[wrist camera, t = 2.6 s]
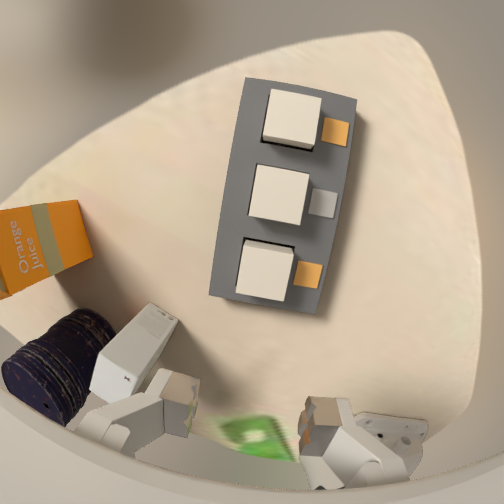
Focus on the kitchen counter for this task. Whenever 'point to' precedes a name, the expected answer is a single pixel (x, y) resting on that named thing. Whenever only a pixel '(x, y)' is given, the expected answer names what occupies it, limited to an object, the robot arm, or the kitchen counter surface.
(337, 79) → the kitchen counter surface
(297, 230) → the button panel
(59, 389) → the dark blue cylinder
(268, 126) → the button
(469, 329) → the kitchen counter surface
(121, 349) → the skincare box
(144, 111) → the kitchen counter surface
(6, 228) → the orange juice
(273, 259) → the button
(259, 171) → the middle button
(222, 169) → the kitchen counter surface
